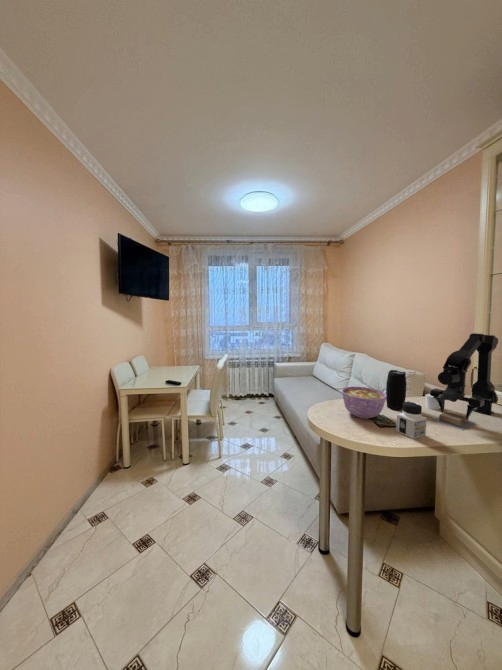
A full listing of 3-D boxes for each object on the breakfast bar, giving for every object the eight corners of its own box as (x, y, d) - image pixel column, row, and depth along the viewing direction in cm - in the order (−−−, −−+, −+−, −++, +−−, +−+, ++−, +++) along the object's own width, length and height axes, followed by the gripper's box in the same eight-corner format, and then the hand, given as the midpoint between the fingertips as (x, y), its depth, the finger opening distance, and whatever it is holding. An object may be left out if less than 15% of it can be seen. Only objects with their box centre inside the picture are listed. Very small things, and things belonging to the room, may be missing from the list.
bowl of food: (360, 405, 137) (361, 384, 136) (395, 419, 119) (396, 395, 118) (332, 411, 128) (332, 389, 127) (365, 427, 110) (366, 401, 109)
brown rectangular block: (449, 416, 122) (449, 410, 122) (468, 421, 116) (469, 415, 116) (439, 421, 116) (439, 414, 116) (458, 427, 110) (459, 420, 110)
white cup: (435, 406, 136) (436, 393, 135) (443, 411, 129) (444, 398, 129) (421, 405, 137) (422, 393, 136) (429, 410, 130) (430, 397, 129)
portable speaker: (408, 408, 132) (410, 372, 130) (397, 412, 128) (400, 374, 126) (392, 403, 140) (394, 369, 138) (381, 406, 135) (383, 370, 133)
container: (413, 439, 100) (415, 407, 99) (395, 431, 107) (397, 401, 106) (426, 435, 103) (428, 405, 102) (407, 428, 110) (409, 399, 109)
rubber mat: (445, 414, 125) (445, 413, 125) (476, 423, 115) (476, 422, 115) (431, 421, 117) (431, 420, 117) (463, 431, 107) (463, 430, 107)
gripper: (425, 379, 118) (423, 412, 119) (476, 390, 102) (473, 427, 104) (436, 376, 124) (434, 407, 125) (486, 386, 108) (483, 421, 110)
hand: (454, 415), depth 116 cm, fingers open, 9 cm apart
